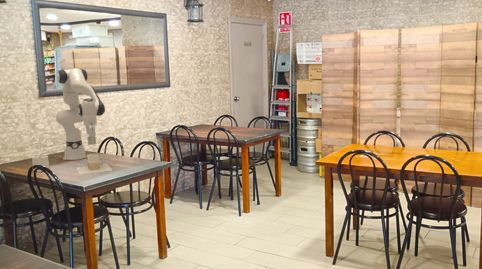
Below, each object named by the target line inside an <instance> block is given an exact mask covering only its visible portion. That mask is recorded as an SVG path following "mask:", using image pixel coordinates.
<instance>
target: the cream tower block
mask: <svg viewBox="0 0 482 269" xmlns="http://www.w3.org/2000/svg"><path fill="white" fill-rule="evenodd" d="M86 155H87V157H86V158H87V164H88V163H97V162H99V163H100V157H99V154H98V153H91V154H90V153H89V154H86Z"/></svg>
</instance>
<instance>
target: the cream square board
mask: <svg viewBox="0 0 482 269" xmlns="http://www.w3.org/2000/svg"><path fill="white" fill-rule="evenodd" d="M99 166H100V169H97V170H89V169H88V165H85V166H76V168H75V169H76V171H77V173H78V174H79V175H86V174H93V173H95V174H96V173H103V172H110V171H113V169H112V168H111V166H110V165H109V164H108V163H103V164H99Z"/></svg>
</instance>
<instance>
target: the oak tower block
mask: <svg viewBox="0 0 482 269" xmlns="http://www.w3.org/2000/svg"><path fill="white" fill-rule="evenodd" d="M99 165H100V161H99V162H97V163H88V162H87V166H88V169H89V170H97V169H100V166H99Z"/></svg>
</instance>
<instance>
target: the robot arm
mask: <svg viewBox="0 0 482 269" xmlns="http://www.w3.org/2000/svg"><path fill="white" fill-rule="evenodd" d="M56 79H57V82H58V83H59V84H62V97H63V98H62V99H63V100H62V101H63V103H64V104H66V105H68V107H69V109H64V110H61V111H57V112H56V114H55V120H56V122H57V123H58V125H60V126H62V128H63V129H64V133H65V139H66V141H65V144H66V145H65V148H64V150H63V153H64V156H63V157H62V160H67V161H76V160H77V161H78V160H81V159H83V160H84V159H86V158H87V155H88V154H86V150H85V149H86V148H85V146H84V145H83V140H82V133H81V129H79V128H78V127H76V126H75V124H78V123H82V122H83V126H85V131H86V133H87V135H88V137H90V138H91V143H93V142H94V137H96V125H98V121H97V120H98V119H97V117H99V116H100V117H101V116H103V115H104V114H105V112H106V107H105V104H104V103H103V102H102V100H101V99H100V97H99V95H98V93H97V91H96V90H95V88H94V87H93V85H90V84H89V83H88V82H87V81H88V72H87V71H86V69H83V68H80V69H79V68H77V67H73V68H70V69H69V68H67V69H60V70H58V71H57V74H56ZM79 94H80V95H81V94H82V95H86V96H89V97H90V98H84V99H82V102H81V103H80V100H79Z"/></svg>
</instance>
